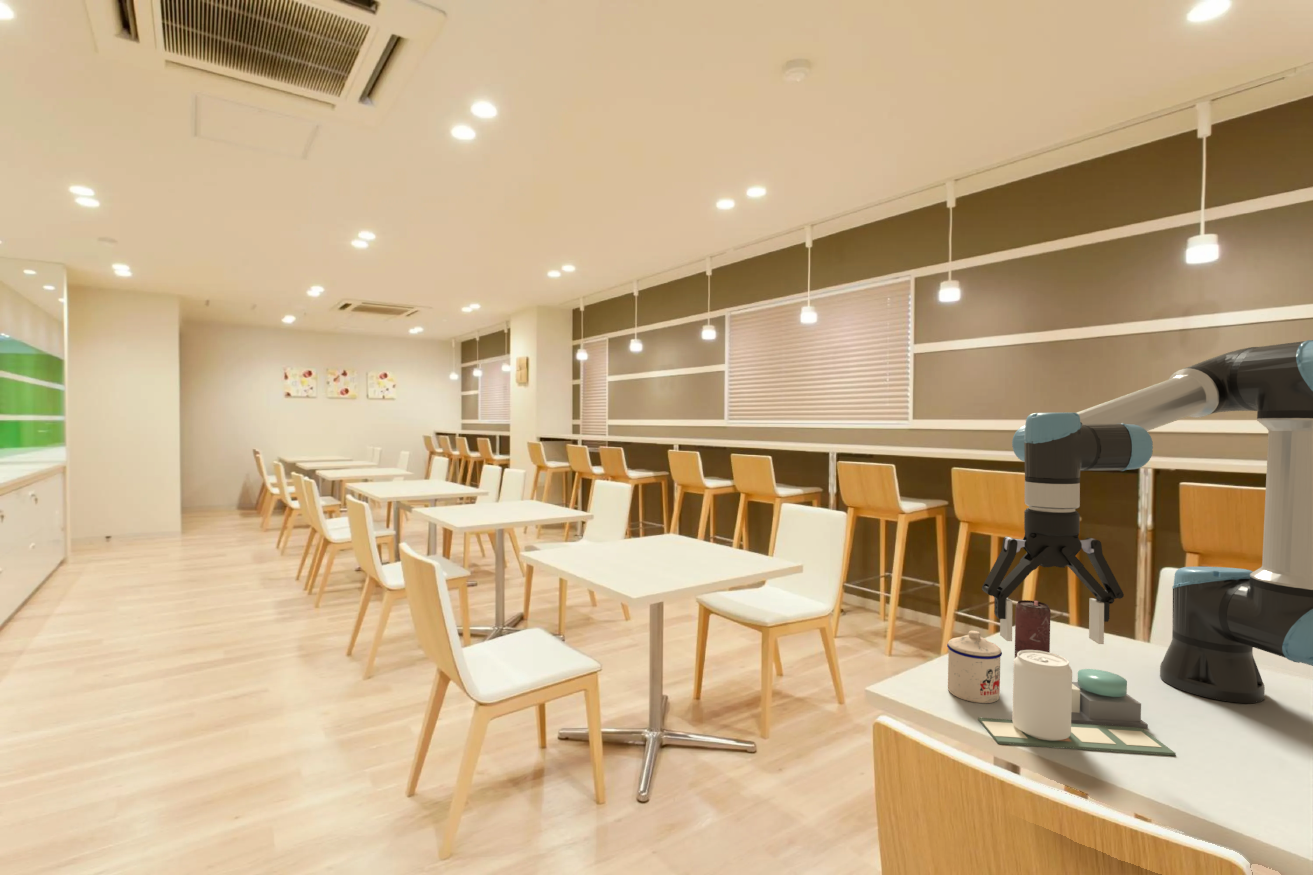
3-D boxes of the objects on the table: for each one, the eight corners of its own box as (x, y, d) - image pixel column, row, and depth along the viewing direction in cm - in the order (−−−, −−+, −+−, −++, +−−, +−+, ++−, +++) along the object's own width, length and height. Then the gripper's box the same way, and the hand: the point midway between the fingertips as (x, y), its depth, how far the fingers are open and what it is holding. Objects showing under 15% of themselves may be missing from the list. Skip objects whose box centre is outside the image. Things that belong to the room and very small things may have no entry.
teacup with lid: (989, 709, 111) (990, 643, 110) (937, 692, 117) (939, 630, 117) (1014, 690, 119) (1015, 629, 118) (964, 675, 125) (965, 618, 125)
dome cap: (1111, 697, 113) (1111, 670, 113) (1135, 715, 106) (1136, 686, 106) (1069, 695, 114) (1069, 667, 114) (1090, 712, 107) (1091, 683, 107)
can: (1049, 669, 129) (1050, 601, 129) (1048, 679, 124) (1050, 609, 124) (1015, 663, 132) (1016, 597, 132) (1013, 673, 127) (1015, 604, 127)
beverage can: (1050, 748, 96) (1052, 670, 96) (1001, 725, 104) (1002, 653, 103) (1081, 736, 100) (1083, 662, 100) (1031, 715, 107) (1033, 645, 107)
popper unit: (1111, 701, 114) (1112, 675, 114) (1147, 727, 104) (1148, 699, 104) (1029, 696, 116) (1030, 671, 116) (1057, 722, 106) (1058, 694, 106)
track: (1141, 730, 103) (1141, 727, 103) (1175, 755, 96) (1175, 752, 96) (978, 719, 107) (978, 716, 107) (997, 743, 99) (998, 740, 99)
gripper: (1121, 505, 103) (1120, 634, 103) (961, 504, 106) (961, 629, 107) (1151, 512, 96) (1150, 650, 96) (978, 511, 99) (978, 645, 99)
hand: (1050, 639), depth 101 cm, fingers open, 13 cm apart
